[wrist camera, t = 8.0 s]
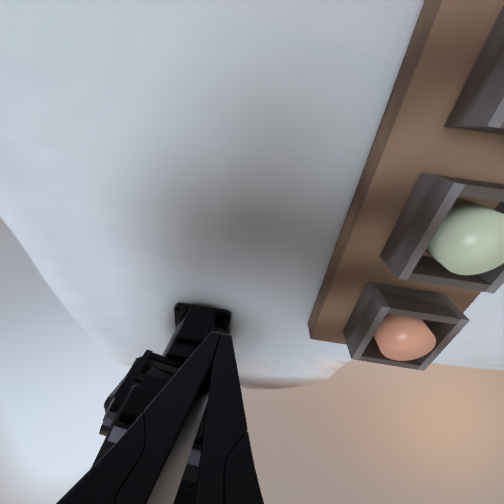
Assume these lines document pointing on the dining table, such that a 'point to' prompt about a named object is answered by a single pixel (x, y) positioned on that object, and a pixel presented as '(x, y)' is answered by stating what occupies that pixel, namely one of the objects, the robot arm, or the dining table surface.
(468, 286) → the button panel
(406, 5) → the dining table surface
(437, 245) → the sage button
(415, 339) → the terracotta button
